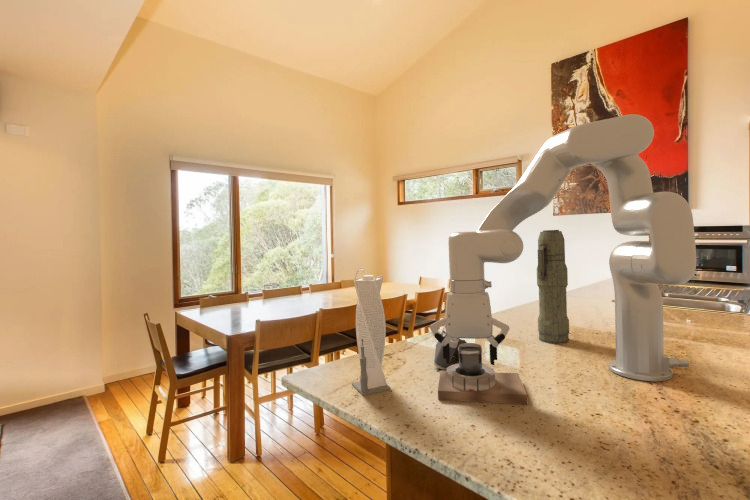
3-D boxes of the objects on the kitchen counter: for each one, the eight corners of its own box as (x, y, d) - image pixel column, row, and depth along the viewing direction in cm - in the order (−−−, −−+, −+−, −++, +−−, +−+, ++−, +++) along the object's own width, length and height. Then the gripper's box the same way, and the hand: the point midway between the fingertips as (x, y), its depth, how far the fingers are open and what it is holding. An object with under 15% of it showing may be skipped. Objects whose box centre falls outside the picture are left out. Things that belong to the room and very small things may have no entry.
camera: (430, 366, 98) (445, 330, 96) (432, 345, 113) (446, 314, 112) (463, 381, 96) (479, 345, 95) (462, 358, 112) (475, 327, 110)
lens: (482, 377, 87) (481, 343, 86) (483, 386, 82) (482, 350, 81) (459, 376, 88) (458, 342, 88) (459, 385, 83) (457, 349, 83)
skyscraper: (350, 382, 92) (344, 269, 91) (380, 376, 95) (375, 266, 94) (362, 395, 84) (356, 271, 83) (394, 388, 88) (389, 268, 87)
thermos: (576, 338, 120) (573, 229, 119) (558, 346, 113) (555, 230, 111) (549, 333, 127) (546, 230, 126) (530, 341, 120) (527, 231, 118)
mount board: (518, 381, 88) (517, 363, 88) (527, 404, 77) (526, 383, 76) (440, 378, 92) (440, 360, 92) (438, 399, 81) (437, 379, 80)
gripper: (505, 284, 86) (508, 358, 86) (429, 285, 90) (432, 356, 90) (510, 289, 78) (512, 369, 79) (427, 290, 82) (430, 367, 83)
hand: (469, 362), depth 85 cm, fingers open, 9 cm apart
